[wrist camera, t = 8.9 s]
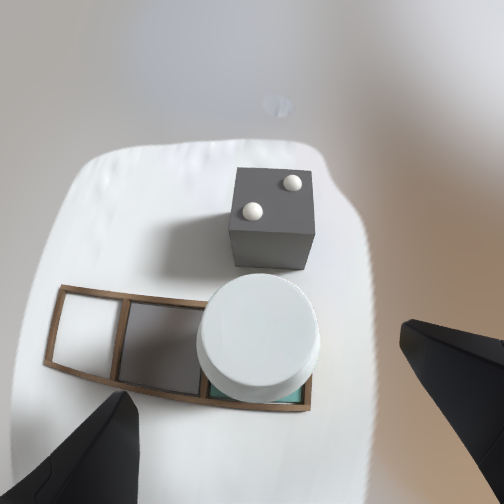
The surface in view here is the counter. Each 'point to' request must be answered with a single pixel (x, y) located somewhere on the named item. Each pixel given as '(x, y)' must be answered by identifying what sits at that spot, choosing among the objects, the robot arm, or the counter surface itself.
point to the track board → (161, 351)
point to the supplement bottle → (258, 338)
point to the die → (272, 218)
